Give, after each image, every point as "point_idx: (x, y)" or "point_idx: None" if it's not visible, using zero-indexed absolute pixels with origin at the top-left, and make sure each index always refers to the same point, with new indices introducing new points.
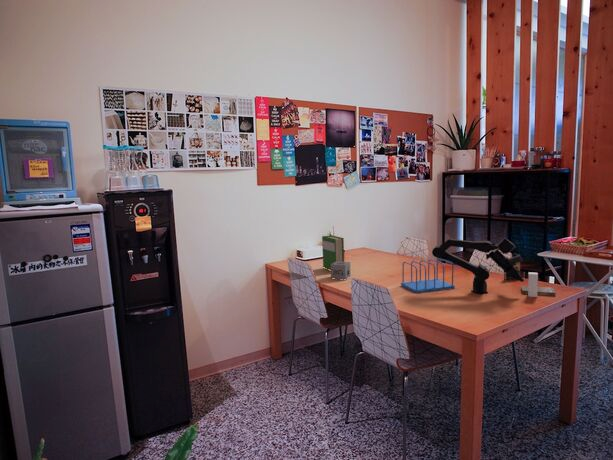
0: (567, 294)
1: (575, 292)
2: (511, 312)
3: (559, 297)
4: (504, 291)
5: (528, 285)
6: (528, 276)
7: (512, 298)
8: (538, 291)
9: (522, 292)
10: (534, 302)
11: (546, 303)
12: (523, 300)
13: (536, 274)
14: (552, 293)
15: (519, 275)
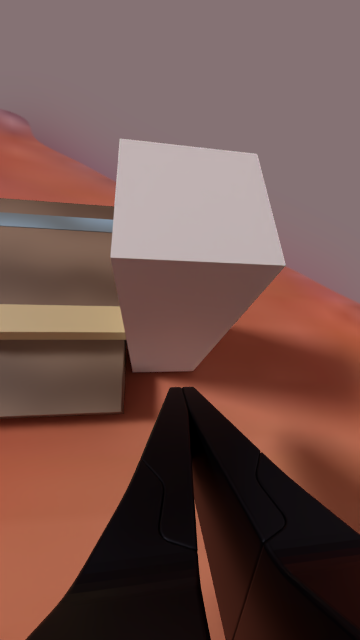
0: (68, 171)
1: (16, 135)
2: None
3: None
4: (50, 611)
5: (175, 347)
6: (138, 304)
7: None
8: None
9: (117, 413)
10: (309, 343)
11: (294, 285)
12: (299, 409)
13: (257, 171)
14: None
15: (276, 473)
